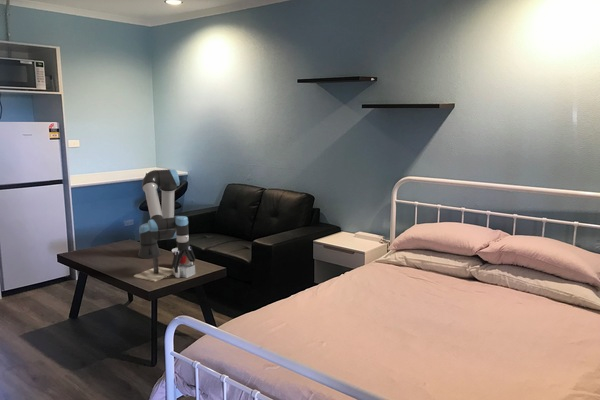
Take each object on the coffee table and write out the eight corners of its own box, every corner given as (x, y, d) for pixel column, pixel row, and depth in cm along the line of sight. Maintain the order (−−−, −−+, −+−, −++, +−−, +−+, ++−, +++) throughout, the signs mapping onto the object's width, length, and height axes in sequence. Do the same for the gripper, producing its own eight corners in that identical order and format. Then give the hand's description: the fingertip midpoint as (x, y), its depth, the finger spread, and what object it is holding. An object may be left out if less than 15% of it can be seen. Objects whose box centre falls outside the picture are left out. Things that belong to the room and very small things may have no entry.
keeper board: (157, 267, 312) (156, 251, 310) (178, 272, 303) (177, 254, 301) (133, 276, 294) (132, 259, 292) (155, 281, 286) (153, 263, 284)
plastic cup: (172, 270, 307) (171, 252, 305) (172, 265, 317) (171, 247, 315) (189, 268, 310) (188, 250, 308) (188, 263, 320) (187, 246, 318)
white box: (182, 271, 304) (181, 262, 303) (195, 274, 299) (194, 265, 298) (173, 275, 297) (172, 266, 296) (186, 277, 292) (186, 268, 291)
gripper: (173, 246, 282) (175, 281, 286) (200, 237, 303) (201, 269, 307) (164, 245, 286) (166, 279, 289) (191, 236, 306) (192, 268, 310)
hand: (184, 274), depth 298 cm, fingers open, 12 cm apart
